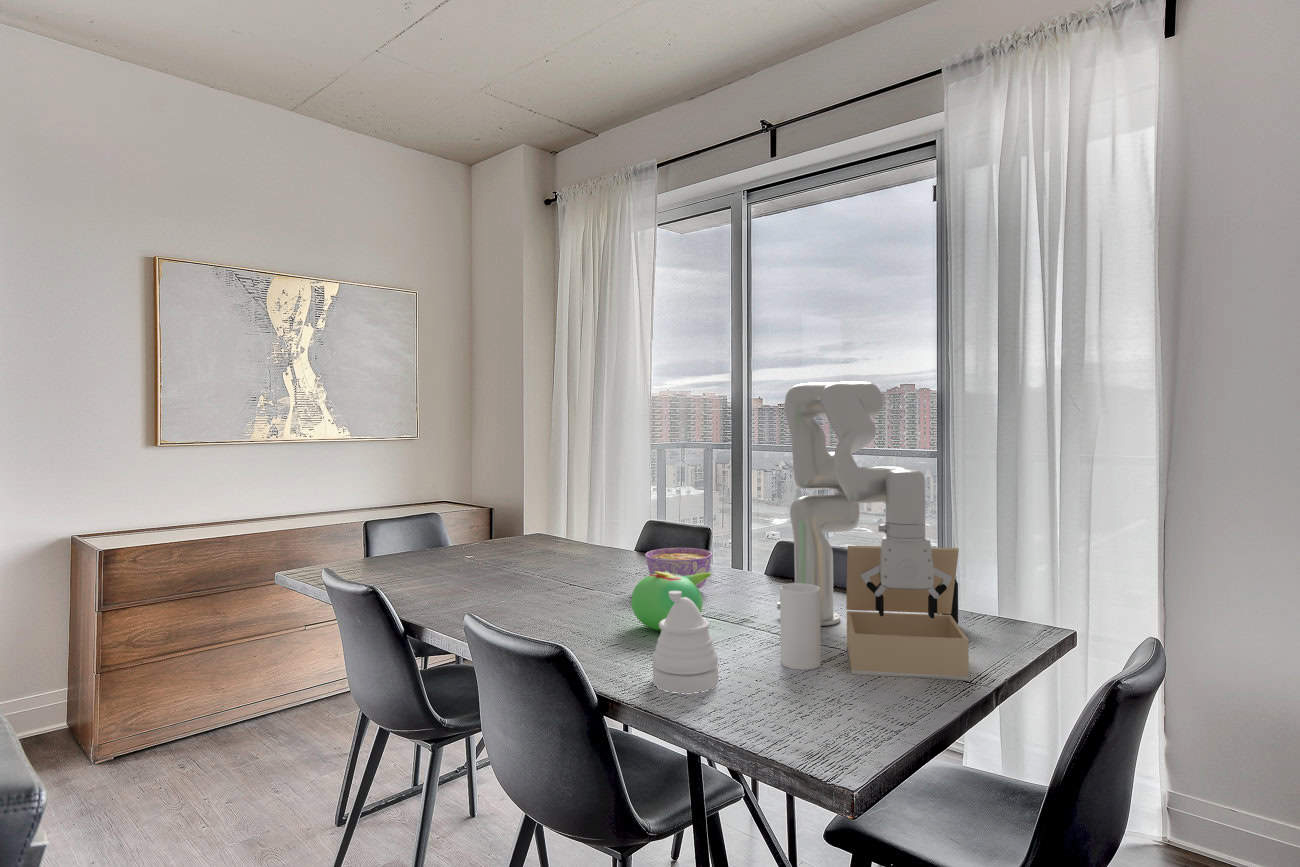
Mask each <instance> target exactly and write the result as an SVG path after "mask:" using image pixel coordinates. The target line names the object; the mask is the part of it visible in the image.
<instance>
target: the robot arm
mask: <svg viewBox="0 0 1300 867" xmlns="http://www.w3.org/2000/svg"><path fill="white" fill-rule="evenodd" d="M883 408H884V397H883V394H882V391H881V389H880V388H879V387H878V386H877V385H876V384H875V383H873V382H869V381H840V382H839V381H838V382H806V383H800V384H799V383H798V384H796V385H794V386H791V387H790V388H789V390H788V391H787V392H786V395H785V398H784V414H785V418H786V422H787V425H788V429H789V431H790V432H789V433H790V436H791V449H792V451H791V452H792V467H793V476H794V482H795V485H796V486H797V487H798V488H800V489H801V490H808V491H812V490H813V491H817V490H818V491H819V490H821V491H822V490H833V494H812V495H811V494H810V495H803V496H800V497H798V498H796V499H795V500H794V501H793V502H792V503H791V505H790V508H789V516H790V521H791V522H790V524H791V527H792V533H793V549H794V550H793V551H794V555H793V556H794V583H805V584H812V585H816V586H818V587H820V627H826V626H832V625H835V624H838V623H839V622H841V616H840V614H838V613H836V612H834V554H833V553H834V551H833V547H832V545H831V544H830V543H829V541H828V540H827V538H826V537H825V535H824V534H826V533H838V532H849V531H852V530H854V529H855V528H856V527H857V526H858V525H859V520H860V510H861V509H860V504H870V503H872V504H873V503H885V523H883V524H879V525H878V532H879V533H880V532H882V533H883V534H884V535H885V536H883V537H882V539H881V543H880V546H881V551H880V563H879V565H877V566H875V567H872V568H870V569H868V570H866V571H864V572H862V573H861V576H862V578H863V580H864V582H865V583H866V585H867V587H868V588H869V589H870V590H871V591H872V592H873V593H874V594H875V607H876V611H875V612H879V615H880V616H884V613H885V611H884V597H883V595H882V593H883V592H884V591H885V590H886V589H887V588H889V589H909V590H927V591H928V592H929V593H930V595H929V596H928V613H927V614H928V615H929V616H930V618H934V613H937V598H939V596H940V595H941V594H942V593H943V592H944V591H945V590H946V589H947V586H948V585H949V583H950V581H951V580H952V577H951V576H950V575H949V574H947V573H945V572H943V571H941V570H939V569H937V568H935V567H933V557H932V549H931V547H932V544H931V540H930V538H928V537H926V477H925V474H924V473H923V472H922V471H920V470H915V469H906V468H904V467H901V466H893V465H892V466H862V467H860V466H858V465H857V463H856V461H855V460H854V458H853V456H852V454H854V453H855V452H858V451H860V450H862V449H864V448H865V447H867V446H868V445H869V444H871V443H872V442H873V440H874V439H875V437H876V434H877V427H876V424H875V423H874V421H873V420H872V418H875V417H876V416H879V414H880V413H881V411H882V410H883ZM817 417H818V418H819V417H824V418H826V419H827V420H828V422H829V424H830V426H831V429H832V430H833V432H834V434H835V435H836V437H837V440H838V443H837V445H836V447H835V450H834V451H828V448H827V440H826V439H827V438H826V434H825V431H824V430H823V427H822V425H821V424H820V423H819V422H818V421H817V420H816V419H815V418H817ZM877 573H879V578H880V583H879V584H878V585H877V586H875V585H874V584H873V583H872V582H871V580H870V577H871V576H873V575H875V574H877ZM934 575H936V576H938V577H940V578H942V581H941V583H940V584H939V585H938V586H937V587H936V588H935V589H934V588H933V585H934ZM776 605H777V608H776V609H777V611H778V610H779V611H780V601H777V604H776Z"/></svg>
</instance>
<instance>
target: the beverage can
mask: <svg viewBox="0 0 1300 867" xmlns="http://www.w3.org/2000/svg"><path fill="white" fill-rule="evenodd" d="M934 615H951V616H952V617H953V619H954V620H955V622H956V623H957V624H958V625H959V583H958V581H957V576H956V577H955V585H954V593H953V602H952V610H951V614H942V613H934Z"/></svg>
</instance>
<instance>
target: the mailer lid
mask: <svg viewBox="0 0 1300 867" xmlns="http://www.w3.org/2000/svg"><path fill="white" fill-rule="evenodd" d="M931 549H932V557H933V567H935V568H937V569H939V570H941V571H943V572H945V573H947V574H949V575H950V576H951V577H952V580H951V581H950V583H949V585H948V586H947V589H946V590H945V591H944V592H943V593H942V594H941V595H940V596H939V598H937V613H942V614H951V610H952V602H953V593H954V585H955V577H956V578H957V566H958V559H959V547H934V546H931ZM880 551H881V545H878V546H876V545H875V546H874V545H847V562H846V564H847V565H846V566H847V568H846V569H847V570H846V571H847V572H846V573H847V574H846V609H845V610H846V611H864V612H877V611H876V607H875V594H874V593H873V592H872V591H871V590H870V589H869V588H868V587H867V585H866V583H865V582H864V580H863V578H862V576H861V573H862V572H864V571H866V570H868V569H870V568H872V567H875V566H877V565H879V563H880ZM870 580H871V582H872V583H873V584H874V585H875V586H877V585H878V584H879V583H880V578H879V573H877V574H875V575H873V576H871V577H870ZM941 581H942V578H940V577H938V576H936V575H934V585H933V588H934V589H935V588H936V587H937V586H938V585H939V584H940V583H941ZM882 595H883V597H884V612H889V613H915V614H928V596H929V595H930V593H929V592H928V591H927V590H909V589H889V588H887V589H886V590H885V591H884V592H883V593H882Z"/></svg>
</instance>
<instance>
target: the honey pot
mask: <svg viewBox="0 0 1300 867" xmlns="http://www.w3.org/2000/svg"><path fill="white" fill-rule="evenodd" d="M681 596H682V592H681V591H669V597H670V599H671V600H672V601H673V602H675V604H674V605H673V606H672V608H671V609H670V611H669V613H668V615H667V617H666V619H663V620H661V621H660V623H659V628H660V629H661V631H660V634H659V637H658V638H657V644H656V645H655V651H654V652H653V654H652V684H653V683H654V684H655V685H656V686H658V687H659V688H661V689H664V690H667V691H672V692H680V693H694V692H701V691H706V690H709V689H712V688H714V687H715V686H716V685H717V684H718V685H719V666H718V665H719V657H718V653H717V652H716V650H715V646H714V644H713V637H712V636H711V635H710V633H709V628H710V626H711V624H710V621H709V620H707V619H705V618H704V617H703V615H702V612H701V613H700V611H699V609H698V608H697V606H696V605H695V604H694V602H693V601H691V600H690V599H689V598H687V597H682V598H681ZM718 685H717V686H718ZM715 688H716V687H715ZM715 688H714V689H715ZM712 690H713V689H712Z"/></svg>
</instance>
